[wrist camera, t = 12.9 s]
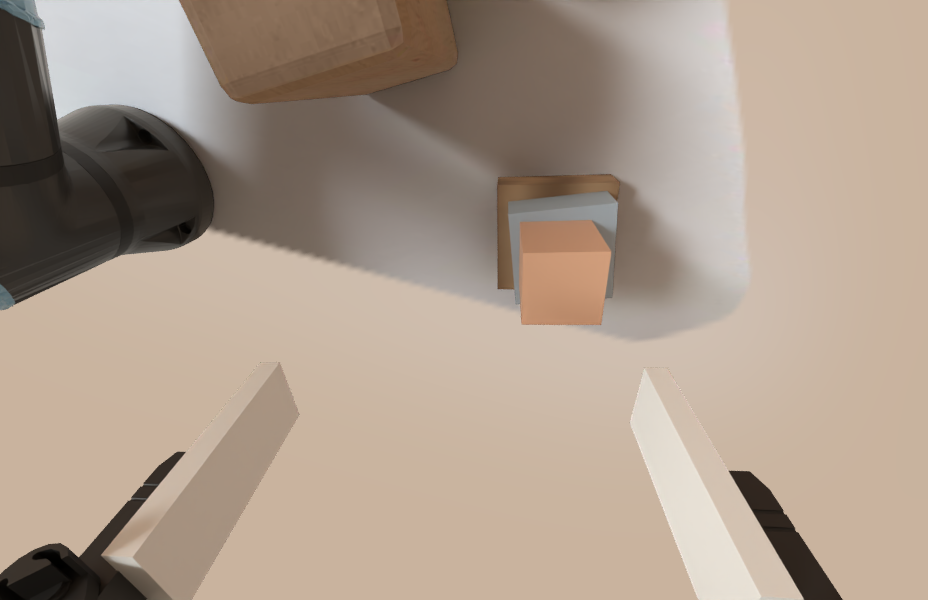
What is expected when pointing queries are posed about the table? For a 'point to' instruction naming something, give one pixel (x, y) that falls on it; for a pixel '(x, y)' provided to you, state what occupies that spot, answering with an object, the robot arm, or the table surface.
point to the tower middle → (564, 209)
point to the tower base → (536, 189)
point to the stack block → (562, 272)
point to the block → (321, 45)
